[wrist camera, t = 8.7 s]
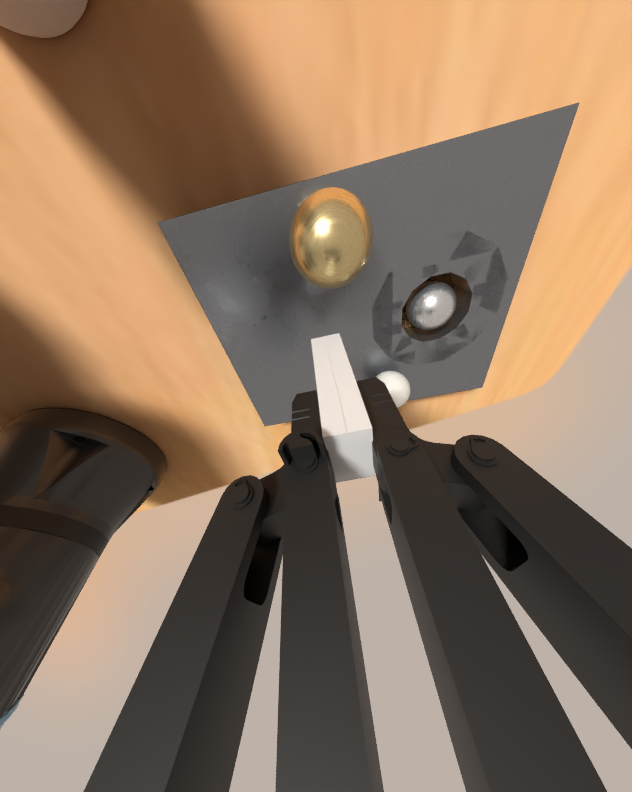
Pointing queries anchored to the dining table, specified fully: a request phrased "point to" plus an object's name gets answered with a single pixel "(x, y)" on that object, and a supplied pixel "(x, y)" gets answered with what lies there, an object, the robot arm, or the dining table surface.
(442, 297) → the steel ball
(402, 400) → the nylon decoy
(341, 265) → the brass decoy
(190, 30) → the dining table surface
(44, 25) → the coffee cup
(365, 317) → the plate
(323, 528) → the robot arm
